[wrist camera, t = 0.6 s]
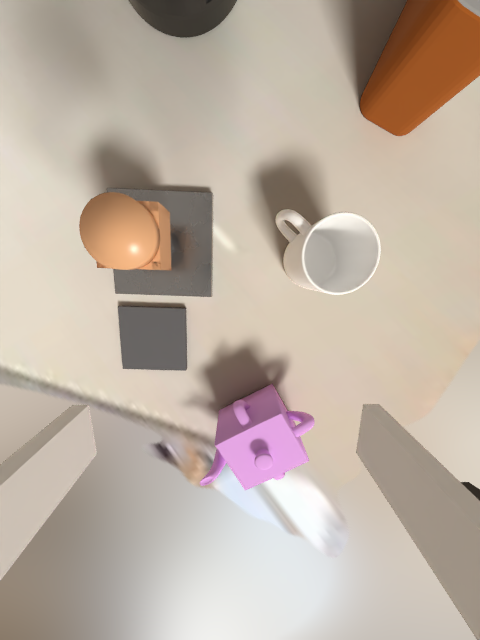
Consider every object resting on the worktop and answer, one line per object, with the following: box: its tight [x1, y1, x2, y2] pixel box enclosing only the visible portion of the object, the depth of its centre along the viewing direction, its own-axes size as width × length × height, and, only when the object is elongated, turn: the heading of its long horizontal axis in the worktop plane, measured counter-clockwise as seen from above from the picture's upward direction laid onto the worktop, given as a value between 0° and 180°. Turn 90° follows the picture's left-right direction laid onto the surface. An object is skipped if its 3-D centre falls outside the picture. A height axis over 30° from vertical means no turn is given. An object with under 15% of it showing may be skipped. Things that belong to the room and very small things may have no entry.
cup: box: [275, 209, 381, 295], centre depth 28 cm, size 8×12×10 cm
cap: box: [79, 192, 171, 270], centre depth 24 cm, size 7×7×6 cm
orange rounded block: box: [360, 0, 480, 136], centre depth 21 cm, size 15×8×14 cm, turn 155°
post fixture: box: [107, 188, 213, 297], centre depth 28 cm, size 14×14×9 cm
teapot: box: [200, 384, 314, 490], centre depth 33 cm, size 18×14×10 cm
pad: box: [118, 306, 187, 370], centre depth 35 cm, size 10×10×1 cm
